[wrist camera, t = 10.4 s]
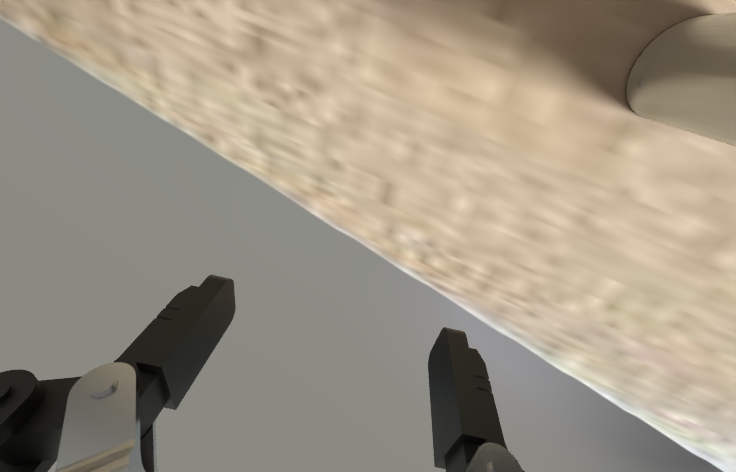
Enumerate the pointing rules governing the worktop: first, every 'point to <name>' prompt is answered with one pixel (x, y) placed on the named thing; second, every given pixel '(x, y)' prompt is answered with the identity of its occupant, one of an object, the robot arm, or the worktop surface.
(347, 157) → the worktop surface
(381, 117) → the worktop surface
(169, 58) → the worktop surface
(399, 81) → the worktop surface
